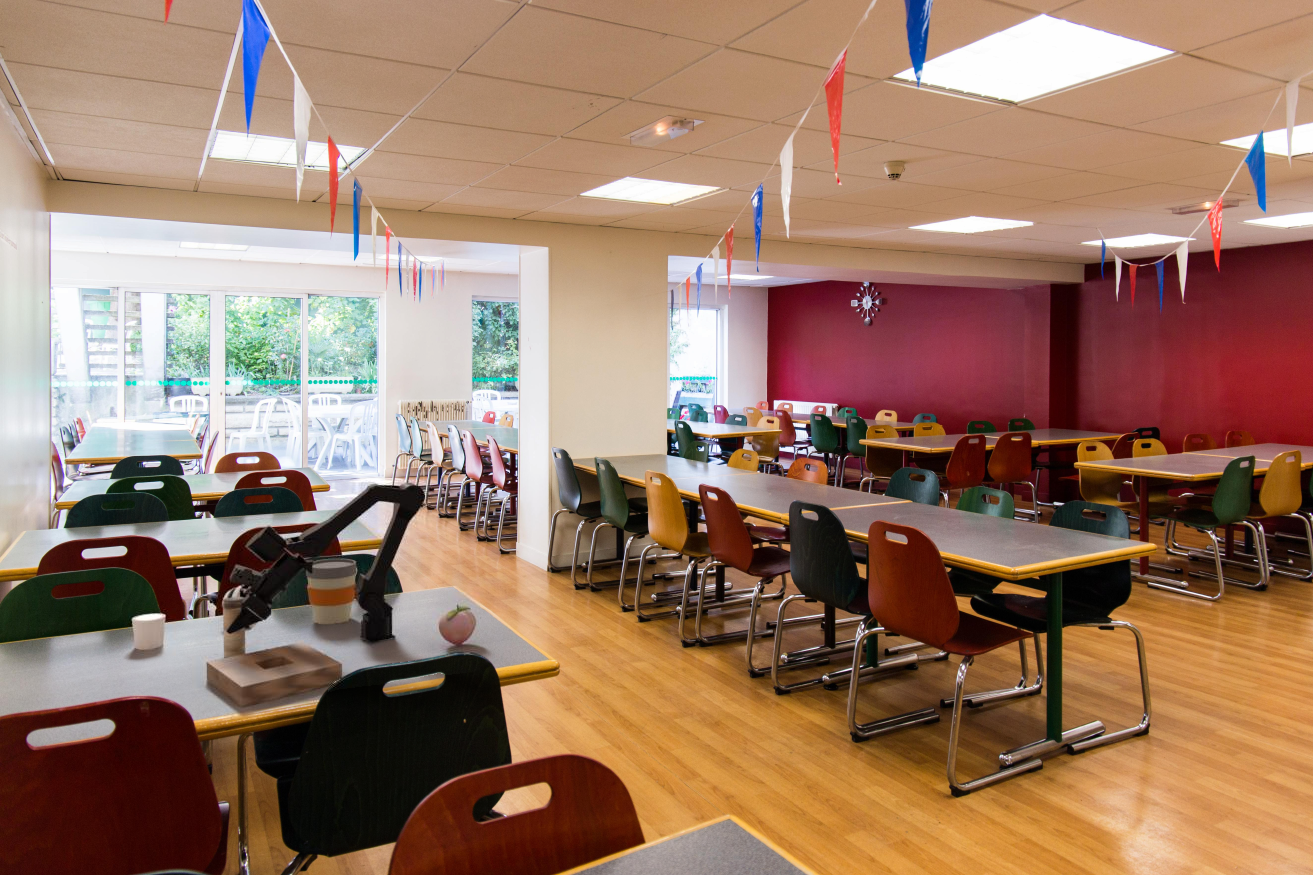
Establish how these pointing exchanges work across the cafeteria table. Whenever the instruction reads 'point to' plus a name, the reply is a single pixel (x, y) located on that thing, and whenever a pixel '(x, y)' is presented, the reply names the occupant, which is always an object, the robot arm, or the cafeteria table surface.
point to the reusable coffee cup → (332, 590)
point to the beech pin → (231, 609)
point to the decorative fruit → (457, 625)
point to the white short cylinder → (148, 630)
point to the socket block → (273, 673)
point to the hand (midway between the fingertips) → (227, 627)
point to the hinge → (234, 593)
